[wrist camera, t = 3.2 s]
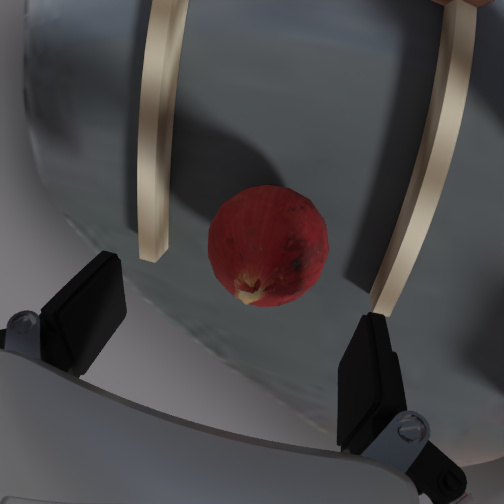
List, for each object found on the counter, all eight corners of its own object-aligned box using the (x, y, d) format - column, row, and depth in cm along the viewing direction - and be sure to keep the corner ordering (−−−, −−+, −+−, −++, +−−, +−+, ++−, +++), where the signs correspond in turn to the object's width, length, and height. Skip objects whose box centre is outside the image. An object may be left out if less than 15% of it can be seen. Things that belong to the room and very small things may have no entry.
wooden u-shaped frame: (184, -64, 11) (154, -88, 7) (463, -17, 9) (493, -36, 5) (153, 244, 21) (124, 274, 18) (384, 297, 20) (393, 338, 16)
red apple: (318, 160, 16) (316, 215, 10) (333, 252, 19) (334, 347, 12) (219, 178, 18) (156, 239, 11) (244, 262, 21) (204, 351, 14)
